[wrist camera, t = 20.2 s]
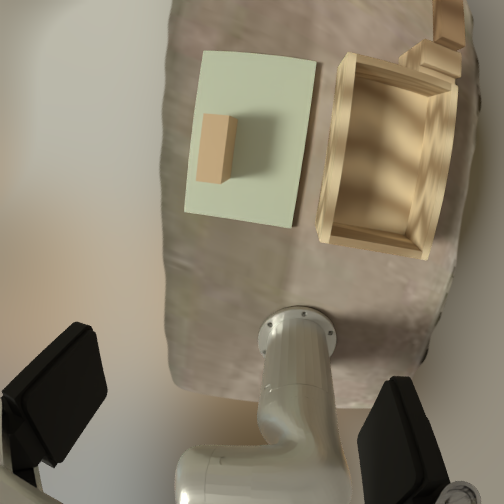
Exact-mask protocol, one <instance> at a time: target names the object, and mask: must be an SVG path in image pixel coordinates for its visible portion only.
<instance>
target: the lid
mask: <svg viewBox="0 0 504 504" xmlns="http://www.w3.org/2000/svg"><path fill="white" fill-rule="evenodd" d="M315 70H316V61H310V60H304V59H298V58H291V57H283V56H275V55H266V54H256V53H244V52H227V51H204V52H203V58H202V64H201V70H200V77H199V83H198V90H197V97H196V104H195V112H194V120H193V128H192V136H191V145H190V154H189V163H188V174H187V184H186V196H185V208H184V212H189V213H195V214H202V215H209V216H216V217H222V218H229V219H235V220H242V221H248V222H254V223H261V224H267V225H273V226H279V227H285V228H291V227H292V221H293V215H294V209H295V203H296V197H297V191H298V185H299V179H300V173H301V167H302V160H303V154H304V147H305V141H306V134H307V127H308V121H309V114H310V107H311V99H312V92H313V85H314V77H315Z"/></svg>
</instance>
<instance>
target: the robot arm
mask: <svg viewBox="0 0 504 504" xmlns="http://www.w3.org/2000/svg"><path fill="white" fill-rule="evenodd" d="M270 322H271V323H270ZM336 342H337V341H336V332H335V328H334V326H333V324H332V322H331V321H330V320H329V318H328V317H326V316H325V315H324V314H323V313H321V312H319V311H318V310H315V309H312V308H308V307H298V306H295V307H288V308H285V309H281V310H279V311H277V312H275V313H273V314H272V315H271V316H269V317H268V318H267V319H266V320H265V322H264V323H263V324H262V326H261V328H260V331H259V335H258V347H259V350H260V353H261V354H262V356H263V357H264V359H265V363H264V370H263V377H262V384H261V391H260V398H259V406H258V413H257V420H258V426H259V429H260V431H261V434H262V435H263V437H264V438H265V440H266V441H267V442H268V444H269V445H260V446H226V445H199V446H194V447H191V448H190V449H188V450H187V451H185V452H184V453H183V454H182V456H181V458H180V459H179V462H178V464H177V468H176V474H175V498H176V504H350V501H351V497H352V481H351V476H350V471H349V468H348V465H347V461H346V458H345V455H344V451H343V448H342V444H341V440H340V435H339V429H338V424H337V423H338V422H337V414H336V405H335V396H334V388H333V381H332V373H331V365H330V356H331V355H332V354H333V352H334V349H335V347H336ZM2 393H3V396H2V397H1V398H0V504H63V503H61V502H59V501H58V500H56V499H54V498H52V497H51V496H49V495H47V494H45V493H44V492H43V489H42V484H41V479H40V474H39V469H38V464H39V463H40V462H41V461H42V462H44V463H46V464H47V465H49V466H51V467H53V468H55V466H56V465H57V463H61V462H63V461H64V459H65V458H66V456H67V455H68V453H69V451H70V450H71V448H72V447H73V445H74V444H75V442H76V441H77V439H78V438H79V436H80V435H81V433H82V432H83V430H84V429H85V427H86V426H87V424H88V423H89V421H90V420H91V418H92V417H93V416H94V414H95V413H96V411H97V410H98V408H99V407H100V405H101V404H102V402H103V401H104V399H105V398H106V396H107V384H106V380H105V376H104V372H103V367H102V362H101V357H100V353H99V347H98V342H97V336H96V333H95V332H94V331H93V329H92V327H91V326H89V325H86V324H83V323H80V322H74V323H72V324H71V325H70V326H69V327H68V328H67V329H66V330H65V331H64V332H63V333H61V334H60V335H59V336H58V337H57V338H56V339H55V340H54V341H53V342H52V343H51V344H50V345H48V346H47V348H45V349H44V350H43V351H42V352H41V353H40V354H39V355H38V356H37V357H36V358H35V359H34V360H33V361H32V362H31V363H30V364H29V365H28V366H26V367H25V368H24V369H23V370H22V371H21V372H20V373H19V374H18V375H17V376H16V377H15V378H14V379H13V380H12V381H11V382H10V383H9V384H8V385H7V386H6V387H5V388H4V389H3V390H2ZM357 444H358V451H359V459H360V467H361V474H362V483H363V491H364V500H365V504H481V497H480V494H479V492H478V490H477V489H476V488H475V487H474V486H473V485H472V484H470V483H468V482H465V481H455V482H452V483H450V480H449V477H448V474H447V471H446V467H445V464H444V461H443V459H442V456H441V452H440V450H439V447H438V444H437V441H436V438H435V436H434V433H433V430H432V427H431V425H430V422H429V420H428V418H427V417H426V415H425V413H424V410H423V407H422V405H421V402H420V400H419V397H418V395H417V392H416V390H415V387H414V385H413V382H412V380H411V378H410V377H403V376H393V377H391V378H390V380H389V381H385V382H384V384H383V386H382V388H381V391H380V393H379V395H378V397H377V399H376V401H375V403H374V405H373V407H372V409H371V411H370V413H369V415H368V417H367V419H366V421H365V423H364V425H363V427H362V428H361V430H360V432H359V435H358V439H357Z"/></svg>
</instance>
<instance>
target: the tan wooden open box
mask: <svg viewBox="0 0 504 504" xmlns="http://www.w3.org/2000/svg"><path fill="white" fill-rule="evenodd" d="M460 77H461V53H459V52H457V51H454V50H451V49H449V48H447V47H444V46H442V45H439V44H437V43H434V42H433V41H430V40H427V39H424V40H422V41H421V42H420V43H418V44H417V45H415V46H414V47H413V48H411V49H410V50H408V51H407V52H406V53H404V54H403V55H402V56H400V57H399V65H397V64H394V63H390V62H387V61H383V60H380V59H376V58H372V57H368V56H364V55H360V54H355V53H351V52H348V53H347V54H346V56H345V57H344V59H343V60H342V62H341V63H340V65H339V66H338V69H337V78H336V87H335V95H334V103H333V111H332V119H331V126H330V133H329V140H328V147H327V154H326V161H325V167H324V173H323V180H322V186H321V192H320V198H319V204H318V209H317V215H316V221H315V227H316V230H317V234H318V237H319V241H320V242H322V243H328V244H334V245H340V246H346V247H352V248H358V249H364V250H370V251H376V252H382V253H387V254H393V255H399V256H404V257H410V258H416V259H421V260H428V256H429V253H430V249H431V246H432V242H433V238H434V235H435V231H436V227H437V223H438V219H439V215H440V210H441V206H442V201H443V197H444V192H445V187H446V182H447V177H448V171H449V165H450V159H451V152H452V146H453V138H454V130H455V121H456V111H457V98H458V86H457V85H455V79H456V78H460Z"/></svg>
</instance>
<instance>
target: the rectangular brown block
mask: <svg viewBox="0 0 504 504" xmlns="http://www.w3.org/2000/svg"><path fill="white" fill-rule="evenodd" d="M432 3H433V42H434V43H437V44H439V45H442V46H444V47H447V48H449V49H451V50H454V51H457V50H459V49H461V48H463V47H465V24H464V10H463V0H432Z"/></svg>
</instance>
